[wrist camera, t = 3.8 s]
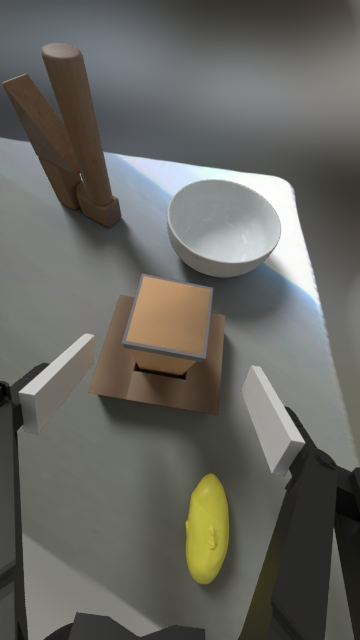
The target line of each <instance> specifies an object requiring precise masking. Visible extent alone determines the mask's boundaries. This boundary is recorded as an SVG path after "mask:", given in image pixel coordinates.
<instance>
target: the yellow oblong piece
mask: <svg viewBox="0 0 360 640" xmlns="http://www.w3.org/2000/svg"><path fill="white" fill-rule="evenodd" d="M186 529H187V539H186V559H187V564H188V568H189V571H190V573H191V575H192V577H193V578H194V579H195V580H196V581H197V582H198V583H199V584H209V583H210V582H211V581H212V580H213V579H214V578H215V577H216V575H217V574H218V572H219V570H220V568H221V566H222V563H223V561H224V558H225V556H226V552H227V548H228V542H229V512H228V503H227V499H226V495H225V491H224V488H223V486H222V484H221V482H220V481H219V479H218V478H217V477H216V476H215V475H214V474H212V473H210V474H207V475H205V476H204V477H203V478H202V479H201V481H200V482H199V484H198V485H197V487H196V489H195V490H194V491H193V493H192V495H191V500H190V508H189V515H188V520H187V522H186Z"/></svg>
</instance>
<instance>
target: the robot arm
mask: <svg viewBox="0 0 360 640" xmlns="http://www.w3.org/2000/svg"><path fill="white" fill-rule="evenodd" d="M94 336H95V335H90V334H84V335H83V336H82V337H80V338H79V339H78V340H77V341H76V342H75V343H74V344H73V345H71V346H70V347H69V348H68V349H67V350H66V351H65V352H64V353H62V354H61V355H60V356H59V357H58V358H57V359H56V360H54V361H53V362H52V363H51V364H48V363H42V364H40V365H38V366H36V367H34V368H33V369H32V370H31V371H29V372H28V373H27V374H26V375H24V376H23V378H21V379H19V380H18V381H17V382H16V383H15V384H13V385H12V386H11V387H10V386H9V384H8V383H7V382H5V381H0V640H28V630H27V617H26V608H25V592H24V571H23V548H22V525H21V503H20V481H19V459H18V437H17V430H18V429H19V428H20V427H21V426H22V425H23V428H24V432H28V433H34V434H39V433H40V432H41V430H42V429H43V428H44V426H45V425H46V424H47V423H48V421H49V420H50V419H51V417H52V416H53V415H54V414H55V412H56V411H57V410H58V408H59V407H60V406H61V405H62V403H63V402H64V401H65V399H66V398H67V397H68V396H69V394H70V393H71V392H72V390H73V389H74V388H75V387H76V385H77V384H78V383H79V381H80V380H81V379H82V378H83V376H84V375H85V374H86V372H87V371H88V370H89V369H90V367H91V366H92V365H93V361H94ZM241 392H242V394H243V397H244V400H245V402H246V405H247V408H248V411H249V413H250V416H251V419H252V421H253V424H254V427H255V430H256V432H257V435H258V438H259V440H260V443H261V446H262V449H263V451H264V454H265V457H266V459H267V462H268V465H269V468H270V470H271V473H272V474H277V475H283V476H285V474H286V473H287V471H288V470H290V472H291V474H292V478H291V479H290V481H289V482H288V484H287V485H286V487H285V489H286V490H287V491H286V494H285V497H284V500H283V504H282V507H281V510H280V513H279V516H278V519H277V522H276V526H275V529H274V532H273V535H272V538H271V541H270V544H269V548H268V551H267V554H266V557H265V560H264V563H263V567H262V570H261V573H260V576H259V579H258V582H257V585H256V589H255V592H254V595H253V598H252V601H251V604H250V607H249V611H248V614H247V617H246V620H245V623H244V626H243V629H242V632H241V634H240V636H239V638H238V640H324V639H325V627H326V615H327V602H328V590H329V578H330V565H331V553H332V541H333V528H334V529H335V534H336V540H337V545H338V551H339V556H340V562H341V567H342V573H343V578H344V584H345V590H346V595H347V601H348V606H349V612H350V617H351V623H352V628H353V634H354V639H355V640H360V468H357V467H356V468H355V469H354V470H353V471H352V472H350V471H348V470H346V469H344V468H341V467H339V466H337V465H336V463H335V462H334V460H333V459H332V458H331V457H330V456H329V455H328V454H326V453H325V452H323V451H322V450H320V449H317V447H316V446H315V444H314V442H313V441H312V439H311V438H310V436H309V435H308V433H307V431H306V430H305V428H303V425H302V424H301V422H300V420H299V419H298V417H297V416H296V414H295V413H294V412H293V411H292V410H291V409H290V408H289V407H285V406H283V404H282V403H281V401H280V399H279V397H278V396H277V394H276V392H275V391H274V389H273V387H272V386H271V384H270V382H269V381H268V379H267V377H266V376H265V374H264V372H263V371H262V369H261V367H257V366H251V368H250V371H249V373H248V376H247V378H246V381H245V383H244V386H243V388H242V391H241ZM44 640H205V629H199V628H192V627H184V626H177V625H173V626H170V627H168V628H165V629H162V630H159V631H157V632H154V633H151V634H149V635H146V636H143V637H139V636H136V635H135V634H133V633H132V632H130V631H129V630H128V629H126V628H125V627H123V626H122V625H120V624H119V623H117V622H116V621H114V620H113V619H111V618H110V617H108V616H100V615H93V614H85V613H78V612H77V613H76V616H75V619H74V622H73V623H71V624H68V625H66V626H63V627H61V628H60V629H58V630H56V631H55V632H53V633H52V634H50V635H49V636H47V637H46V638H45V639H44Z"/></svg>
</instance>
